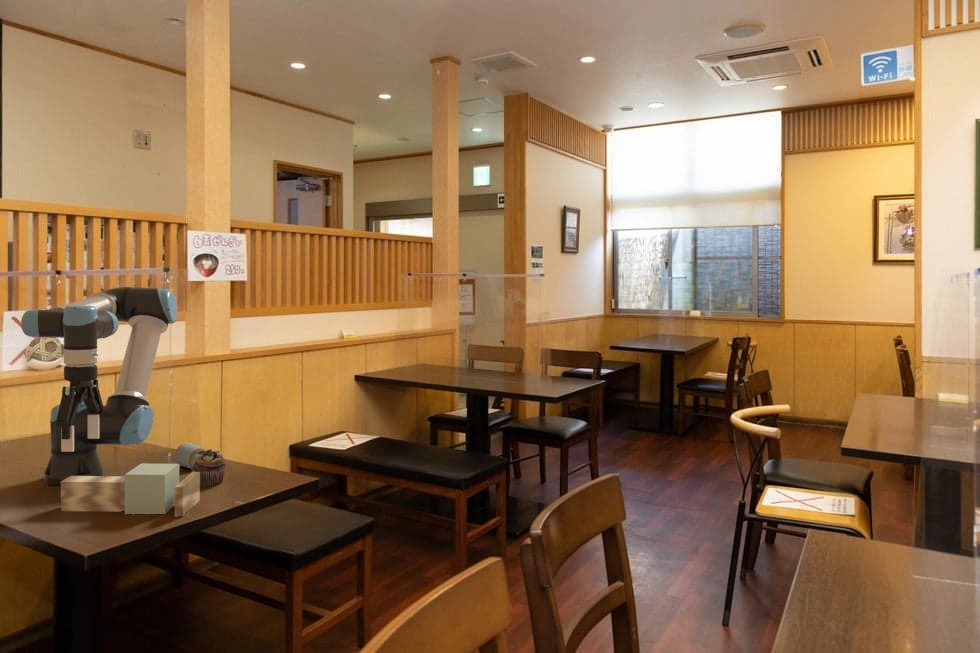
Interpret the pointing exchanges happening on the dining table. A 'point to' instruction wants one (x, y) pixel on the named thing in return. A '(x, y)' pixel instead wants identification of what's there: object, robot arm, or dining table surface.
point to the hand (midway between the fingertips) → (81, 444)
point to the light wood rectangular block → (93, 493)
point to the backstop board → (187, 493)
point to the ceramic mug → (187, 454)
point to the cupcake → (210, 467)
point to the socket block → (151, 488)
